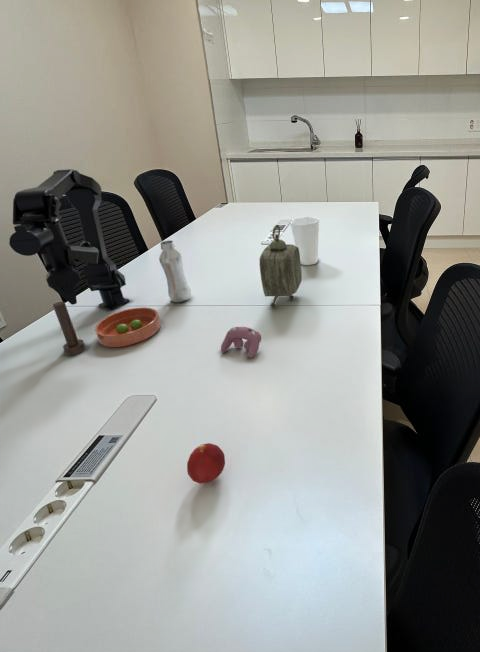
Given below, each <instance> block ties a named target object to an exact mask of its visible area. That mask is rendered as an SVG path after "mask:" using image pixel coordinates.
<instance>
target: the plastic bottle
mask: <svg viewBox="0 0 480 652" xmlns="http://www.w3.org/2000/svg"><path fill="white" fill-rule="evenodd" d="M159 244H160V249H161V250H162V251H161V253H160V254H159V257H158V259H159V264H160V266H161V268H162V270H163V273H164V276H165V279H166V284H167V294H168V297H169V300H170V301H172V302H174V303H182V302H185V301H187V300H189V299H190V298H191V296H192V292H191V288H190V285H189V284H188V281H187V278H186V276H185V269H184V262H183V255H182V254H181V253H180V251H178V250H177V249H176V245H175V242H174V240H164V241H161V242H160V243H159Z"/></svg>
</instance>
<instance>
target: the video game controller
mask: <svg viewBox="0 0 480 652" xmlns="http://www.w3.org/2000/svg"><path fill="white" fill-rule="evenodd" d="M244 340H245V342H244ZM261 342H262V335H261V333H260V332H259V331H256V330H255V329H253V328H251V327H247V326H234V327H231V328H230V329H229V330H228V331H227V332H226V335H225V336H224V339H223V340H222V342H221V345H220V351H221V352H222V353H225V352H227V351H228V350H229V349H230V347H231V346H232V345H233V346H234V348H236V349H240V348H244V350H245V351H248V353H247V354H248V358H250V359H252V358H254V357H255V356H256V354H257V352H258V350H259V347H260V343H261Z"/></svg>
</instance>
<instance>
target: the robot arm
mask: <svg viewBox="0 0 480 652" xmlns="http://www.w3.org/2000/svg"><path fill="white" fill-rule="evenodd" d="M102 194H103V193H102V186H101V185H100V183H99V182H97V181H96V180H95V178H93V177H91V176H89V175H86V174H82V173H80V172H79V171H78V170H76V169H73V168H70V169H69V168H68V169H67V168H66V169H56V170H54V171H53V174H52V175H50V176H49V177H48V178H47V179H45V180H44V181H43V182H41V183H40V184H39V185H37V186H35V187H30V188H25V189H22V190H19V191H17V192H16V193H15V195H14V197H13V201H12V203H13V204H12V224H13V225H14V226H13V229H14V231H15V232H13V233H12V234H11V235H10V237H9V242H8V244H9V247H10V248H11V249H12V250H13V251H14V252H15V253H17V254H19V255H20V256H26V257H30V256H34V255H37V254H39V255H40V256H41V258H42V260H43V263H44V267H45V270H46V271H48V272H47V273H46V275H45V281H46V283H47V286H48V288H50V289H52V290H54V291H55V292H56V293H57V294H58V295H60V296H61V297H62V298H63V299H65V301H67V302H68V303H69V304H70V305H72V306H73V305H77V303H78V301H77V291H76V286H77V285H78V284H79V283H80V282H81V275H80V272H79V269H78V268H77V263H86V265H83V268H82V270H83V273H84V275H83V276H84V282H85V284H86V286H87V287H88V289H89V290H90V292H96V291H98V292H99V295H100V298H101V301H102V302H101V303H99V304H98V307H100V308H104V309H107V310H111V311H112V310H114V309H116V308H118V307H120V306H122V305H125V304H127V303H129V302H130V301H131V300H130V299H129V298H125V297H124V295H123V292H122V288H123V287H124V286H127V283H126V276H125V275H124V274H123V273H122V272H121V271H120V270H118V268H117V265H116V263H115V262H114V261H113V260H112V259H110V257H109V256H108V252H107V249H106V244H105V240H104V239H105V238H104V235H103V230H102V226H101V221H100V216H99V211H98V209H99V206H100V205H101V203H102ZM64 196H66V197H67V200H68V203H69V204H70V205H71V206H72V207H73V208H74V209H75V210H76V212H77V214H78V217H79V218H78V219H79V222H80V227H81V231H82V236H83V239H84V240H83V241H81V242H80V244H79V245H71V244H70V241H68V240H67V238H66V235H65V233H64V229H63V227H62V224H61V221H60V219H62V216H61V214H59V213H60V208H61V206H62V203H61V202H60V199H61V198H62V197H64Z"/></svg>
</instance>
